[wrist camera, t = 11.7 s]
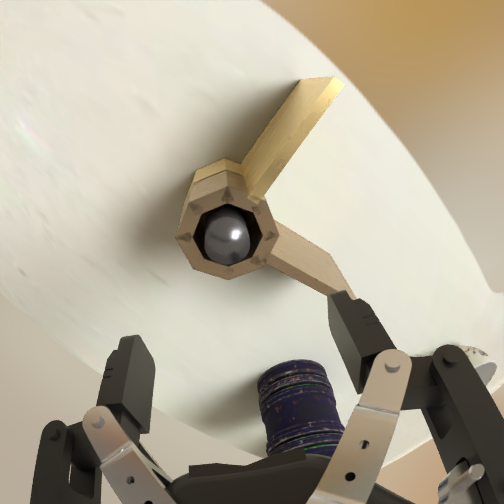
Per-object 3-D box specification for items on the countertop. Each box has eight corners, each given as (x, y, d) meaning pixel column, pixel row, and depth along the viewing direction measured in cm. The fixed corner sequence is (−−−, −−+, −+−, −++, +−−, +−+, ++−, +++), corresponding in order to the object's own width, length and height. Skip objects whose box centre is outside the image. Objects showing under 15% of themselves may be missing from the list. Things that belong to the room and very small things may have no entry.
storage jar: (241, 382, 40) (253, 484, 27) (303, 347, 38) (335, 453, 25) (282, 409, 44) (300, 495, 31) (338, 379, 42) (369, 467, 29)
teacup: (482, 341, 44) (504, 371, 37) (435, 386, 49) (452, 417, 42) (454, 315, 39) (482, 351, 32) (396, 370, 43) (416, 409, 36)
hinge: (179, 214, 28) (167, 260, 21) (247, 55, 22) (259, 40, 15) (322, 265, 32) (349, 315, 25) (395, 134, 26) (447, 154, 19)
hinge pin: (204, 185, 27) (198, 230, 19) (235, 177, 27) (244, 219, 19) (212, 214, 28) (211, 268, 20) (243, 207, 28) (254, 258, 20)
